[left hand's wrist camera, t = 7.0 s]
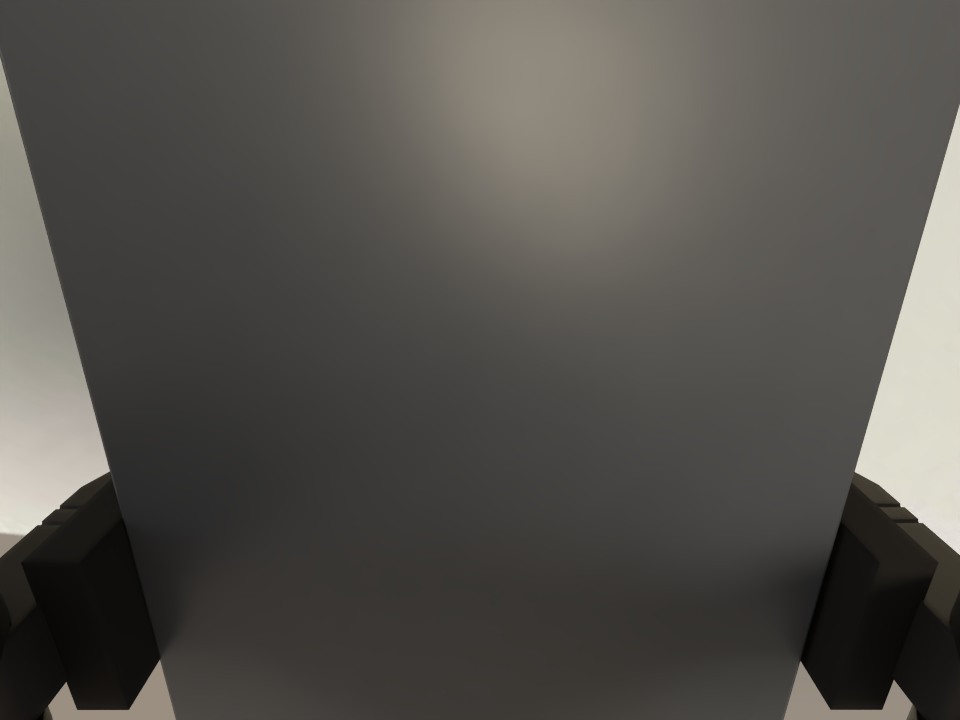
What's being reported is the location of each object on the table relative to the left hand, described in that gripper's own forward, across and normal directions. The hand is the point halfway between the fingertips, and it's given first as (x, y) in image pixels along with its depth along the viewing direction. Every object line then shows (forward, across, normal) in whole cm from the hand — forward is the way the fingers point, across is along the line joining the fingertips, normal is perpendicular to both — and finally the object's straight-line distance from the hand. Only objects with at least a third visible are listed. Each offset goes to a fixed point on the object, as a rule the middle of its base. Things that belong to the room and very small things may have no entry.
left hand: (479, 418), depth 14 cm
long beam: (+1, 0, -32) cm, 32 cm away
